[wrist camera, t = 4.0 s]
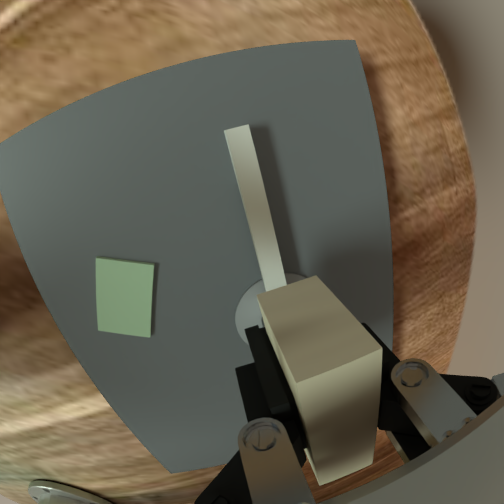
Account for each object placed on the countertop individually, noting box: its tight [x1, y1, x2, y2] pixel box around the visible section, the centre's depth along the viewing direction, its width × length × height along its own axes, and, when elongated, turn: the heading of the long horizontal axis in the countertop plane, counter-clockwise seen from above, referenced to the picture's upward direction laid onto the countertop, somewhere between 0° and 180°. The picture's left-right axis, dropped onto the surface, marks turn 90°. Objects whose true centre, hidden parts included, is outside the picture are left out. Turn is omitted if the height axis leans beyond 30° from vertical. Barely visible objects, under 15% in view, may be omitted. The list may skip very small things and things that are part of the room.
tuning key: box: [224, 124, 382, 486], centre depth 9 cm, size 11×2×7 cm, turn 14°
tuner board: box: [0, 40, 393, 473], centre depth 14 cm, size 22×16×3 cm
